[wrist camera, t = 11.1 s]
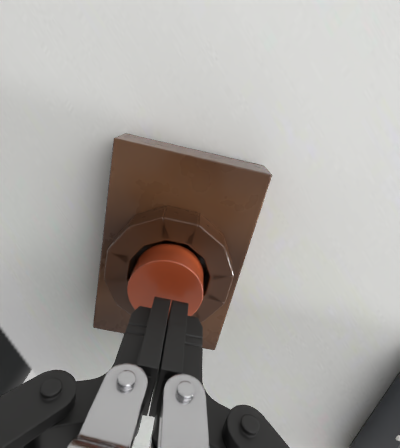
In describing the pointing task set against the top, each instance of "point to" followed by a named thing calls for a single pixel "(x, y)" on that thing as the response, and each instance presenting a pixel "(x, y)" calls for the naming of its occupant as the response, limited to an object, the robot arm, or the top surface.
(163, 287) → the button
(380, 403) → the dark grey slab base
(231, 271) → the button block
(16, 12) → the top surface
